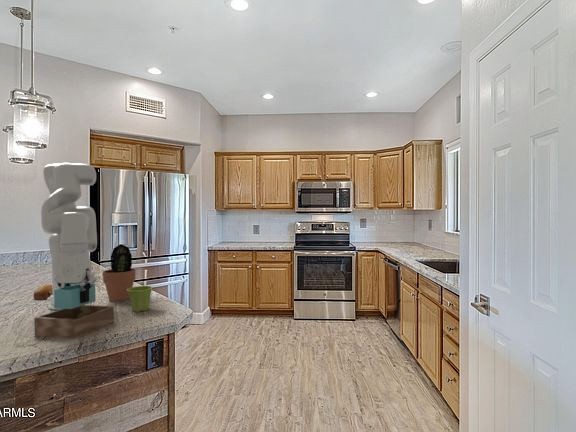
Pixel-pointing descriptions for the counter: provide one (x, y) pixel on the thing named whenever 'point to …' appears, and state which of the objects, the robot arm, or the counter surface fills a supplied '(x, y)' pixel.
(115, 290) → the potted plant
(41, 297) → the bread roll
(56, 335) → the crate large
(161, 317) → the counter surface
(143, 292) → the plant pot
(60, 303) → the box
